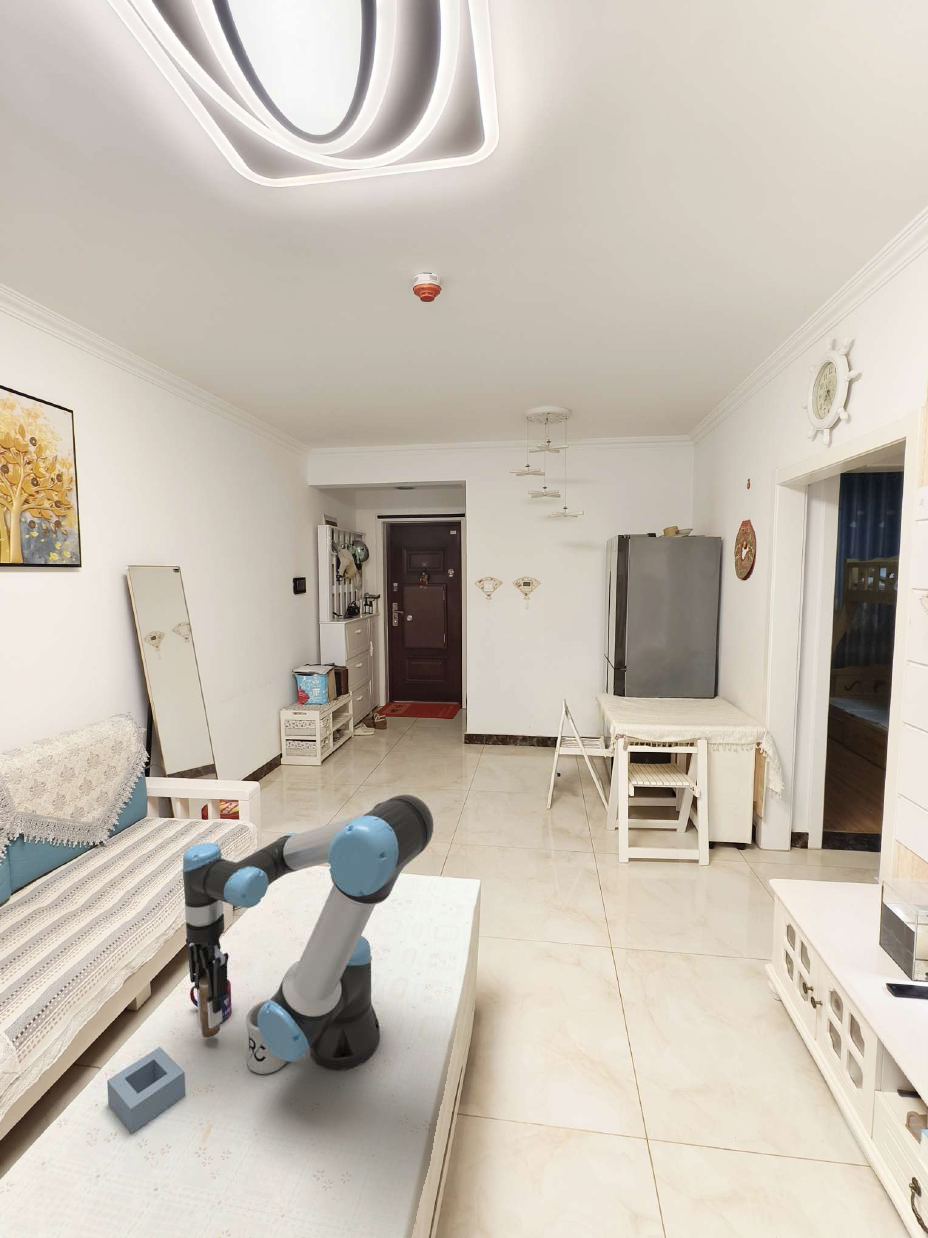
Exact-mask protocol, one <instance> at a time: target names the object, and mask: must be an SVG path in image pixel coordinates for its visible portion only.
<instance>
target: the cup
mask: <svg viewBox="0 0 928 1238" xmlns="http://www.w3.org/2000/svg"><path fill="white" fill-rule="evenodd" d="M227 988H228V994H227V995H226V996H224V997H222V998H221V1005H222V1022H220V1024H223V1023H224V1022H225V1021H227V1020H228V1019H229V1018H230V1016H231V1015H232V986H231V981H230V979H228V978H227ZM195 989H196V988H195V984H194V985H193V986H192V987H191V988H190V990H189V991H190V992H189V998H190V1000H191V1003H192V1004H193V1005H194V1006H195V1007H197V1008H198V1001H197V998H196V996H195Z"/></svg>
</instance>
